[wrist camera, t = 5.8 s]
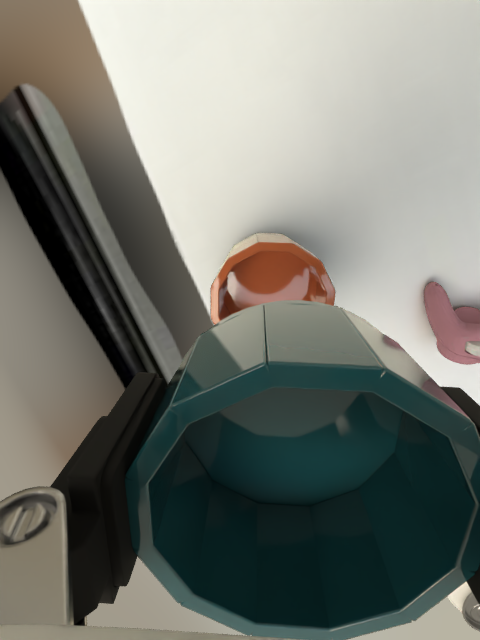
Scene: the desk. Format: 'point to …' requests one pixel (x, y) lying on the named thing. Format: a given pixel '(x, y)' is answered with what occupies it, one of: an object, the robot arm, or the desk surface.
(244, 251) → the middle bowl
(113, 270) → the desk surface
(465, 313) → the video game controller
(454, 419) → the top bowl
